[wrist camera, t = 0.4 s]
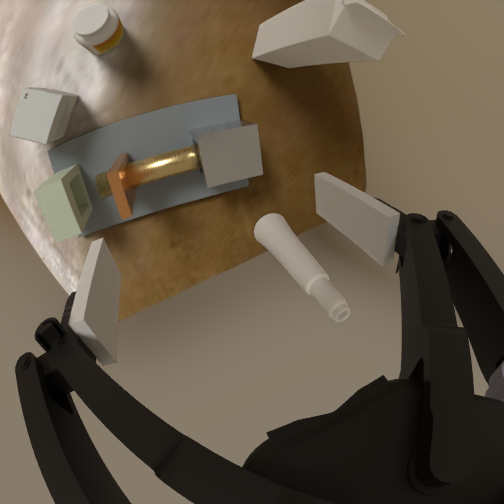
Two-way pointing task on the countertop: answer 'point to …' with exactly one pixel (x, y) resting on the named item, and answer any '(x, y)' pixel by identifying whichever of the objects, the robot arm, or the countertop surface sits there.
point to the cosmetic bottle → (300, 264)
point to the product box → (43, 114)
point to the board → (142, 146)
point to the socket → (65, 203)
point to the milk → (325, 34)
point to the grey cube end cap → (228, 152)
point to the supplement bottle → (98, 28)
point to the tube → (143, 174)
